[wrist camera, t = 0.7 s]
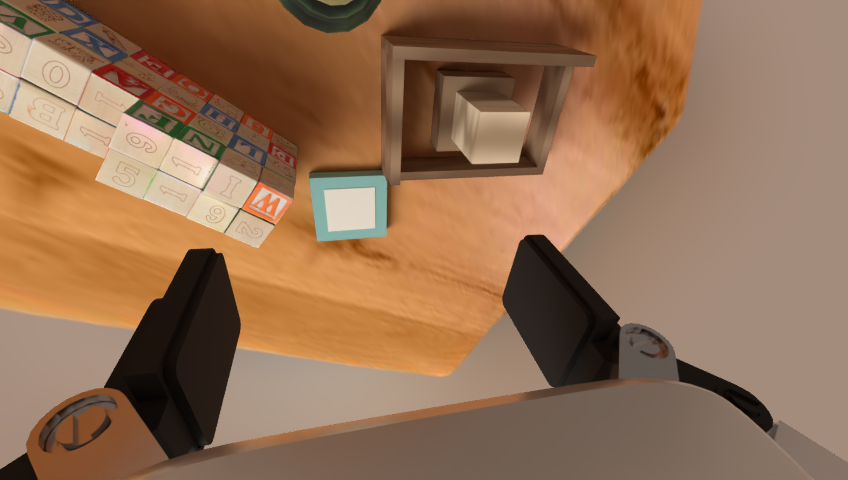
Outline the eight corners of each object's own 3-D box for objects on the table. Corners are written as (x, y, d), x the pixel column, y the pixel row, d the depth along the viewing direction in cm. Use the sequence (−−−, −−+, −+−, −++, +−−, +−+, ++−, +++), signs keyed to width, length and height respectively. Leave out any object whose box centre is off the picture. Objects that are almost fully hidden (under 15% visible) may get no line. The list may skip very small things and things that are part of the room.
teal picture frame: (309, 172, 41) (309, 178, 40) (385, 169, 43) (387, 175, 42) (317, 234, 46) (317, 242, 45) (384, 229, 49) (386, 236, 47)
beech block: (456, 92, 37) (480, 112, 31) (500, 92, 38) (530, 112, 32) (450, 138, 40) (472, 164, 34) (491, 137, 41) (518, 162, 35)
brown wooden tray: (381, 35, 35) (393, 45, 29) (558, 44, 39) (597, 55, 34) (381, 166, 43) (390, 193, 37) (527, 161, 48) (554, 185, 42)
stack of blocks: (31, 58, 30) (-105, 97, 20) (54, -9, 28) (-85, -1, 18) (271, 187, 41) (258, 251, 32) (300, 147, 39) (295, 201, 30)
